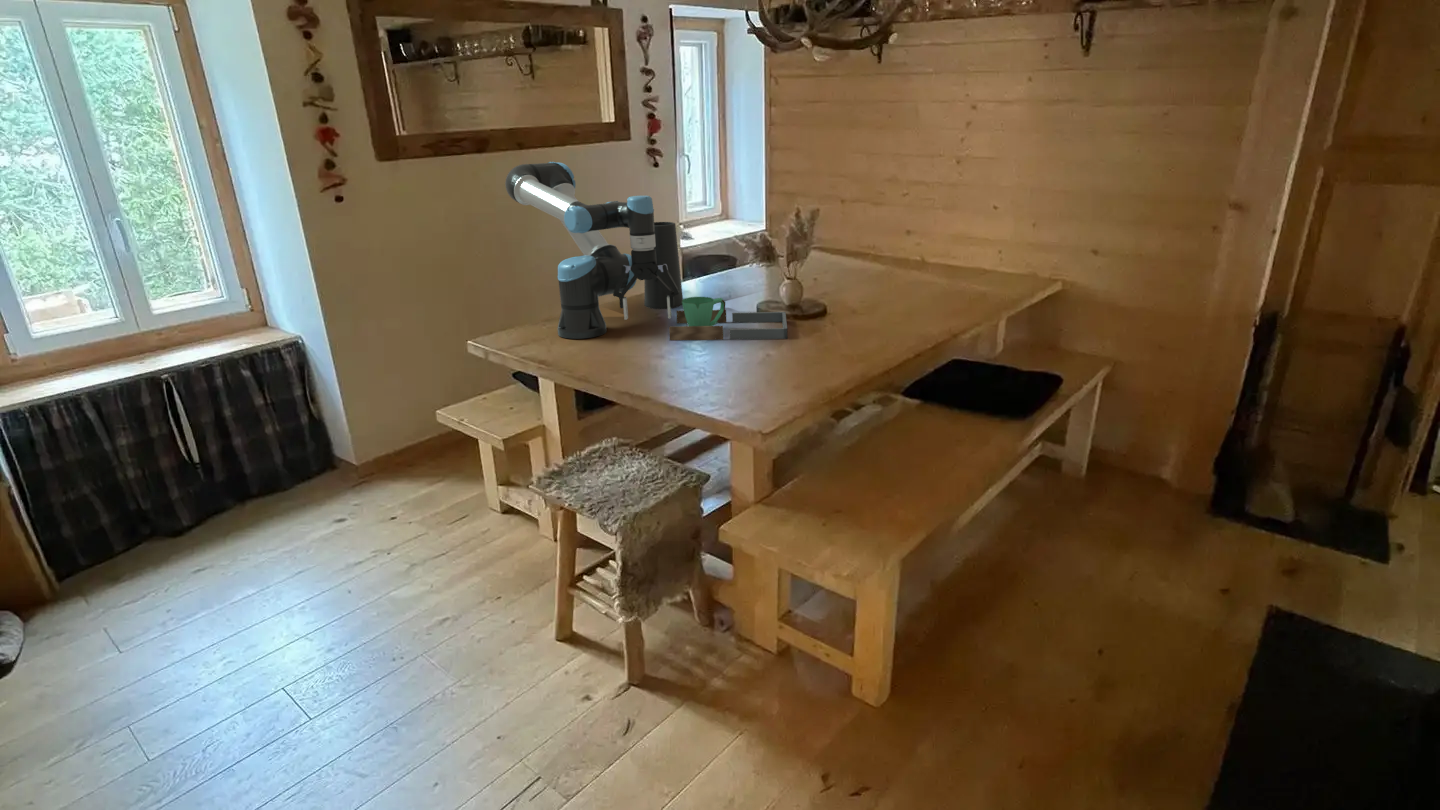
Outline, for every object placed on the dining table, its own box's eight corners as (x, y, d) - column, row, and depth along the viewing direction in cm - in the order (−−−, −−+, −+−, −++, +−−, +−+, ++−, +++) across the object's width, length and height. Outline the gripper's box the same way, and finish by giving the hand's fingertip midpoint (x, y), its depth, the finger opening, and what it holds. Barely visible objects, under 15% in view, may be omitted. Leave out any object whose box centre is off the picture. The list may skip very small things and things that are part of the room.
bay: (669, 340, 237) (669, 327, 235) (677, 322, 257) (676, 310, 256) (723, 339, 236) (722, 326, 234) (726, 321, 256) (726, 309, 255)
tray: (729, 339, 236) (729, 329, 235) (732, 321, 256) (732, 312, 255) (787, 338, 235) (787, 328, 234) (785, 321, 255) (785, 311, 254)
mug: (694, 337, 239) (692, 305, 235) (677, 331, 247) (675, 299, 243) (733, 329, 246) (733, 298, 243) (716, 324, 254) (715, 293, 251)
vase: (660, 313, 270) (655, 227, 261) (637, 307, 280) (631, 224, 270) (691, 306, 279) (687, 223, 269) (667, 301, 288) (663, 220, 279)
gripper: (599, 252, 236) (605, 321, 243) (683, 249, 235) (686, 319, 242) (604, 248, 243) (610, 316, 250) (685, 245, 242) (689, 314, 249)
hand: (648, 318), depth 246 cm, fingers open, 13 cm apart
